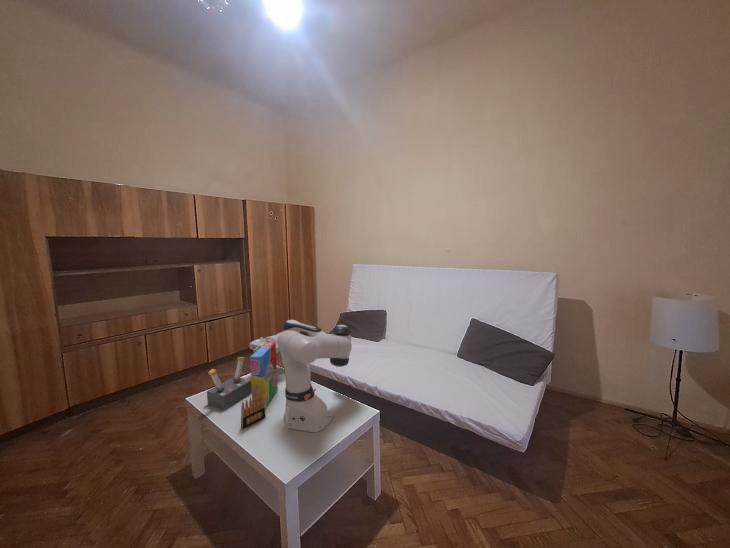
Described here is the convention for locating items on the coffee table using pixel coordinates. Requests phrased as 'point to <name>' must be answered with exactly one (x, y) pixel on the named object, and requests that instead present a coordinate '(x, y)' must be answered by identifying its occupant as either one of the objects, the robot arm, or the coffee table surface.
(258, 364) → the game box
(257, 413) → the ammunition clip
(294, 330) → the robot arm
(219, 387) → the lever
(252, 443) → the coffee table surface
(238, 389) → the switch box
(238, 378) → the lever
